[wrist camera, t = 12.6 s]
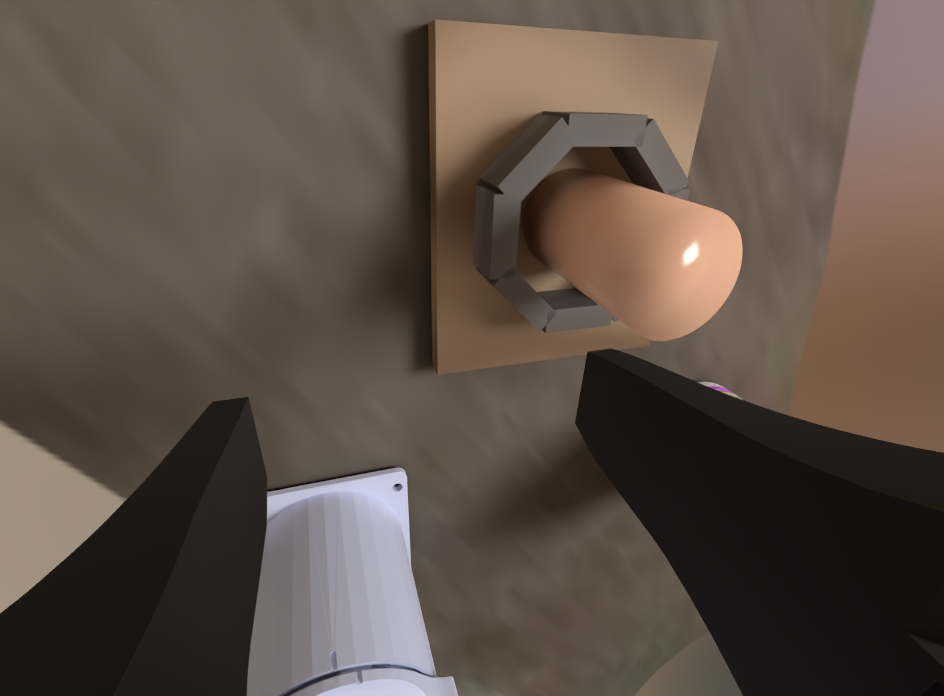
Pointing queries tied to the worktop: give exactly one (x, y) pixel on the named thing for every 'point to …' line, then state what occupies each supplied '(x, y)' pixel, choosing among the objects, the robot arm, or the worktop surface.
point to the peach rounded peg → (635, 250)
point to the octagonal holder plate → (541, 172)
